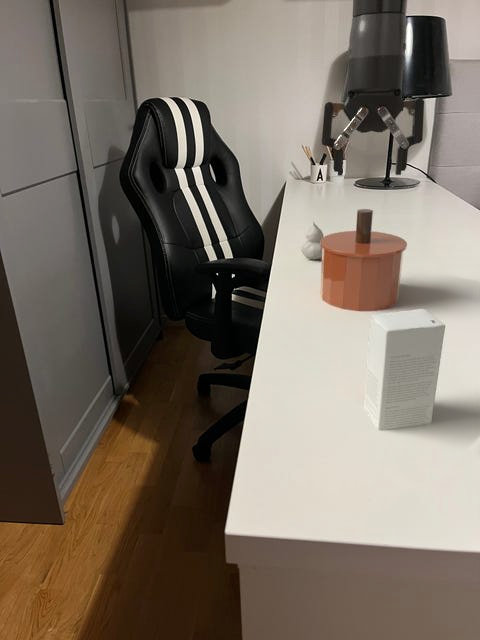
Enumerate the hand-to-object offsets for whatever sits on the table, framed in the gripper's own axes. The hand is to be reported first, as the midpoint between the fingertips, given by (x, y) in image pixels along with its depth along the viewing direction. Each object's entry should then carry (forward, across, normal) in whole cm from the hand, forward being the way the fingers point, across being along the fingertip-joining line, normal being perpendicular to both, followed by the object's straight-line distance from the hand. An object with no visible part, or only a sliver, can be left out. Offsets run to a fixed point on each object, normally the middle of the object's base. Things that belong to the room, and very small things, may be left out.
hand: (368, 174), depth 76 cm
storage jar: (+20, 0, 0) cm, 21 cm away
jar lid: (+11, 0, 0) cm, 11 cm away
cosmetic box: (+21, -3, +34) cm, 40 cm away
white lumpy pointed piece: (+21, +9, -22) cm, 31 cm away
